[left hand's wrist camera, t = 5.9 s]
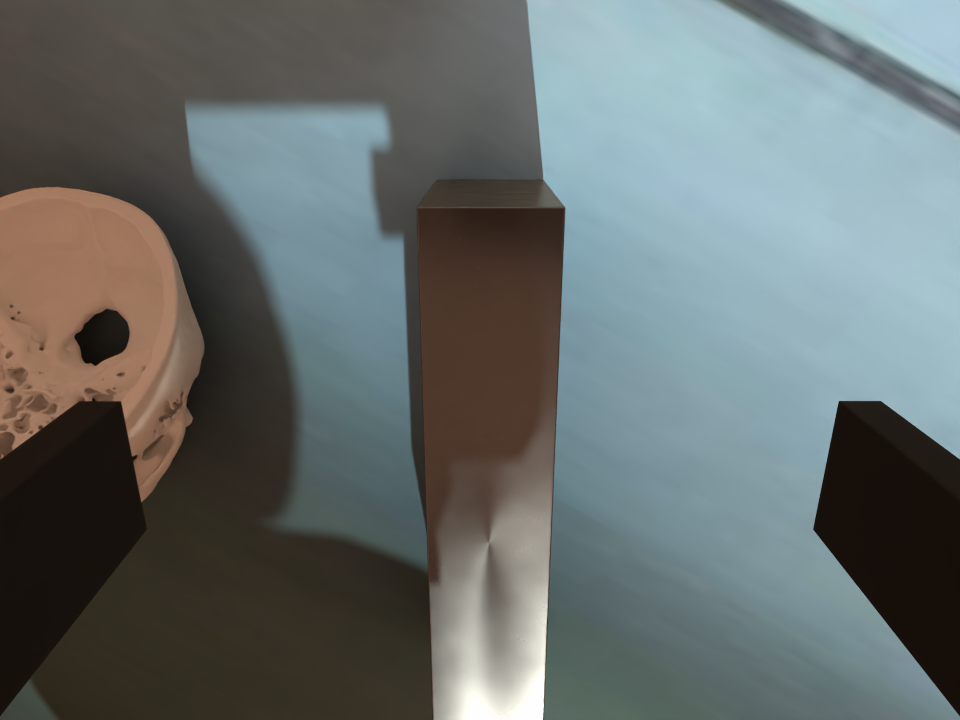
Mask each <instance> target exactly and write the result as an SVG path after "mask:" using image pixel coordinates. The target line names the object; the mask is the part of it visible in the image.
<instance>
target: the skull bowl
mask: <svg viewBox="0 0 960 720" xmlns="http://www.w3.org/2000/svg"><path fill="white" fill-rule="evenodd" d="M105 309H110V310H114V311H117V312H118V313H119V314H120V315H121V316H122V317H123V318H124V319H125V320H126V321H127V323H128V326H129V331H130V336H129V341H128V344H127V347H126V349H125V350H124V351H123V352H122V353H120V354H118V355H115V356H113V357H111V358H108V359H106V360H104V361H102V362H101V363H99V364H98V365H97V366H94V365H93V364H92V363H89V364H86V363H85V362H84V361H83V359H82V357H81V350H80V346H79V345H78V343H77V341H76V340H75V337H74V336H75V334H77V333H79V332H80V331H81V330H82V329H83V326H84V324H85V323H86V322H88V321H89V320H90V319H91V318H92V317H93V316H94V315H95V314H98V313H101V312H102V311H104V310H105ZM11 318H13V320H12V319H11ZM39 349H43V350H39ZM203 355H204V340H203V336H202V333H201V330H200V327H199V325H198V322H197V319H196V317H195V314H194V312H193V309H192V307H191V303H190V300H189V297H188V294H187V291H186V288H185V285H184V281H183V278H182V274H181V271H180V268H179V265H178V262H177V259H176V257H175V255H174V253H173V251H172V249H171V247H170V244H169V242H168V240H167V238H166V236H165V234H164V233H163V231H162V230H161V229H160V227H159V226H158V225H157V224H156V222H155V221H154V220H153V219H152V218H151V217H150V216H149V215H147V214H146V213H145V212H144V211H142V210H141V209H139V208H137V207H135V206H134V205H132V204H130V203H128V202H125V201H122V200H120V199H117V198H114V197H111V196H108V195H104V194H100V193H94V192H89V191H85V190H79V189H70V188H61V187H40V188H33V189H27V190H22V191H19V192H16V193H12V194H9V195H6V196H3V197H0V459H2V458H3V457H4V456H6V455H7V454H8V453H10V452H11V451H12V450H14V449H15V448H17V447H18V446H19V445H21V444H22V443H23V442H25V441H26V440H27V439H29V438H30V437H31V436H33V435H34V434H35V433H37V432H38V431H40V430H41V429H42V428H44V427H45V426H46V425H48V424H49V423H50V422H52V421H53V420H54V419H56V418H57V417H58V416H60V415H61V414H63V413H64V412H65V411H67V410H68V409H69V408H71V407H72V406H73V405H75V404H76V403H77V402H79V401H92V399H93V398H94V399H95V401H121V403H122V408H123V413H124V418H125V423H126V428H127V433H128V438H129V443H130V448H131V453H132V458H133V463H134V468H135V473H136V478H137V483H138V488H139V493H140V498H141V502H142V501H143V500H144V499H146V498H147V497H148V496H149V494H150V493H151V492H152V491H153V490H154V488H155V487H156V485H157V483H158V481H159V480H160V479H161V477H162V476H163V474H164V473H165V472H166V470H167V469H168V467H169V466H170V464H171V462H172V460H173V458H174V457H175V455H176V453H177V451H178V449H179V447H180V445H181V443H182V441H183V438H184V435H185V430H186V427H187V426H189V425H190V424H191V423H192V420H193V417H192V415H191V414H190V412H189V410H188V408H187V407H186V403H187V396H188V394H189V391H190V388H191V386H192V383H193V381H194V380H195V378H196V377H197V376H198V374H199V371H200V365H201V360H202V357H203ZM16 426H17V427H16Z"/></svg>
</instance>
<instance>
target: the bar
mask: <svg viewBox="0 0 960 720" xmlns="http://www.w3.org/2000/svg"><path fill="white" fill-rule="evenodd" d="M564 226H565V207H564V205H563V204H562V203H561V202H560V200H559V199H558V198H557V197H556V195H555V194H554V193H553V192H552V190H551V189H550V188H549V186H548V185H547V184H546V183H545V181H544V180H436V181H435V182H434V184H433V185H432V187H431V188H430V189H429V191H428V192H427V194H426V195H425V197H424V198H423V199H422V201H421V202H420V204H419V205H418V206H417V236H418V268H419V299H420V331H421V363H422V395H423V427H424V459H425V490H426V522H427V554H428V586H429V618H430V649H431V681H432V713H433V720H544V698H545V675H546V651H547V628H548V604H549V580H550V557H551V533H552V510H553V486H554V462H555V439H556V415H557V392H558V368H559V344H560V321H561V297H562V273H563V250H564Z"/></svg>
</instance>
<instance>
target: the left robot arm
mask: <svg viewBox="0 0 960 720" xmlns="http://www.w3.org/2000/svg"><path fill="white" fill-rule="evenodd" d="M146 530H147V528H146V523H145V518H144V513H143V508H142V503H141V498H140V493H139V488H138V483H137V478H136V473H135V468H134V463H133V458H132V453H131V448H130V443H129V438H128V433H127V428H126V423H125V418H124V413H123V408H122V403H121V401H79V402H77V403H76V404H75V405H73V406H72V407H71V408H69V409H68V410H67V411H65V412H64V413H63V414H61V415H60V416H58V417H57V418H56V419H54V420H53V421H52V422H50V423H49V424H48V425H46V426H45V427H44V428H42V429H41V430H40V431H38V432H37V433H35V434H34V435H33V436H31V437H30V438H29V439H27V440H26V441H25V442H23V443H22V444H21V445H19V446H18V447H17V448H15V449H14V450H12V451H11V452H10V453H8V454H7V455H6V456H4V457H3V458H2V459H0V716H1V714H2V713H3V712H4V711H5V709H6V708H7V707H8V705H9V704H10V703H11V702H12V700H13V699H14V698H15V697H16V695H17V694H18V693H19V691H20V690H21V689H22V688H23V686H24V685H25V684H26V683H27V681H28V680H29V679H30V677H31V676H32V675H33V674H34V672H35V671H36V670H37V669H38V667H39V666H40V665H41V663H42V662H43V661H44V660H45V658H46V657H47V656H48V655H49V653H50V652H51V651H52V649H53V648H54V647H55V646H56V644H57V643H58V642H59V641H60V639H61V638H62V637H63V635H64V634H65V633H66V632H67V630H68V629H69V628H70V627H71V625H72V624H73V623H74V621H75V620H76V619H77V618H78V616H79V615H80V614H81V613H82V611H83V610H84V609H85V607H86V606H87V605H88V604H89V602H90V601H91V600H92V599H93V597H94V596H95V595H96V593H97V592H98V591H99V590H100V588H101V587H102V586H103V584H104V583H105V582H106V581H107V579H108V578H109V577H110V576H111V574H112V573H113V572H114V570H115V569H116V568H117V567H118V565H119V564H120V563H121V562H122V560H123V559H124V558H125V556H126V555H127V554H128V553H129V551H130V550H131V549H132V548H133V546H134V545H135V544H136V542H137V541H138V540H139V539H140V537H141V536H142V535H143V534H144V532H145V531H146ZM813 530H814V531H815V532H816V534H817V535H818V536H819V537H820V539H821V540H822V541H823V542H824V544H825V545H826V546H827V548H828V549H829V550H830V551H831V553H832V554H833V555H834V556H835V558H836V559H837V560H838V562H839V563H840V564H841V565H842V567H843V568H844V569H845V570H846V572H847V573H848V574H849V576H850V577H851V578H852V579H853V581H854V582H855V583H856V584H857V586H858V587H859V588H860V590H861V591H862V592H863V593H864V595H865V596H866V597H867V599H868V600H869V601H870V602H871V604H872V605H873V606H874V607H875V609H876V610H877V611H878V613H879V614H880V615H881V616H882V618H883V619H884V620H885V621H886V623H887V624H888V625H889V627H890V628H891V629H892V630H893V632H894V633H895V634H896V635H897V637H898V638H899V639H900V641H901V642H902V643H903V644H904V646H905V647H906V648H907V649H908V651H909V652H910V653H911V655H912V656H913V657H914V658H915V660H916V661H917V662H918V663H919V665H920V666H921V667H922V669H923V670H924V671H925V672H926V674H927V675H928V676H929V677H930V679H931V680H932V681H933V683H934V684H935V685H936V686H937V688H938V689H939V690H940V691H941V693H942V694H943V695H944V697H945V698H946V699H947V700H948V702H949V703H950V704H951V705H952V707H953V708H954V709H955V711H956V712H957V713H958V714H959V716H960V459H958V458H957V457H956V456H954V455H953V454H952V453H950V452H949V451H948V450H946V449H945V448H943V447H942V446H941V445H939V444H938V443H937V442H935V441H934V440H933V439H931V438H930V437H929V436H927V435H926V434H925V433H923V432H922V431H920V430H919V429H918V428H916V427H915V426H914V425H912V424H911V423H910V422H908V421H907V420H906V419H904V418H903V417H902V416H900V415H899V414H897V413H896V412H895V411H893V410H892V409H891V408H889V407H888V406H887V405H885V404H884V403H883V402H881V401H839V403H838V408H837V413H836V418H835V423H834V428H833V433H832V438H831V443H830V448H829V453H828V458H827V463H826V468H825V473H824V478H823V483H822V488H821V493H820V498H819V503H818V508H817V513H816V518H815V523H814V528H813Z"/></svg>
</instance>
